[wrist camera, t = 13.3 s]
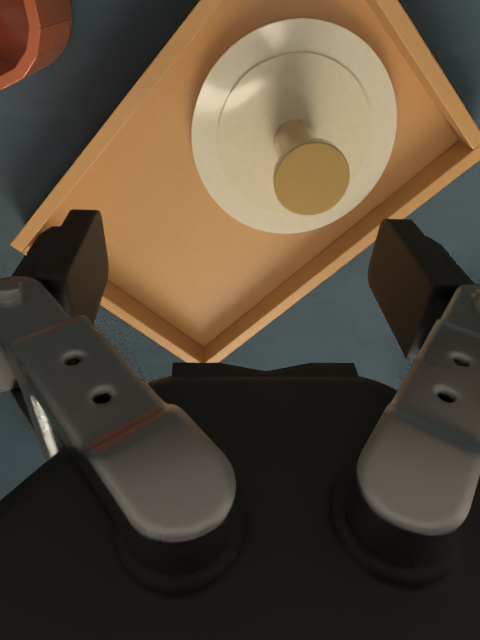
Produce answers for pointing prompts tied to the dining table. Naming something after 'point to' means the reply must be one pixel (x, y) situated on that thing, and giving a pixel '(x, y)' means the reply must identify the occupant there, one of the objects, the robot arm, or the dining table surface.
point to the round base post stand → (293, 125)
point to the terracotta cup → (31, 36)
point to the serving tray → (208, 217)
